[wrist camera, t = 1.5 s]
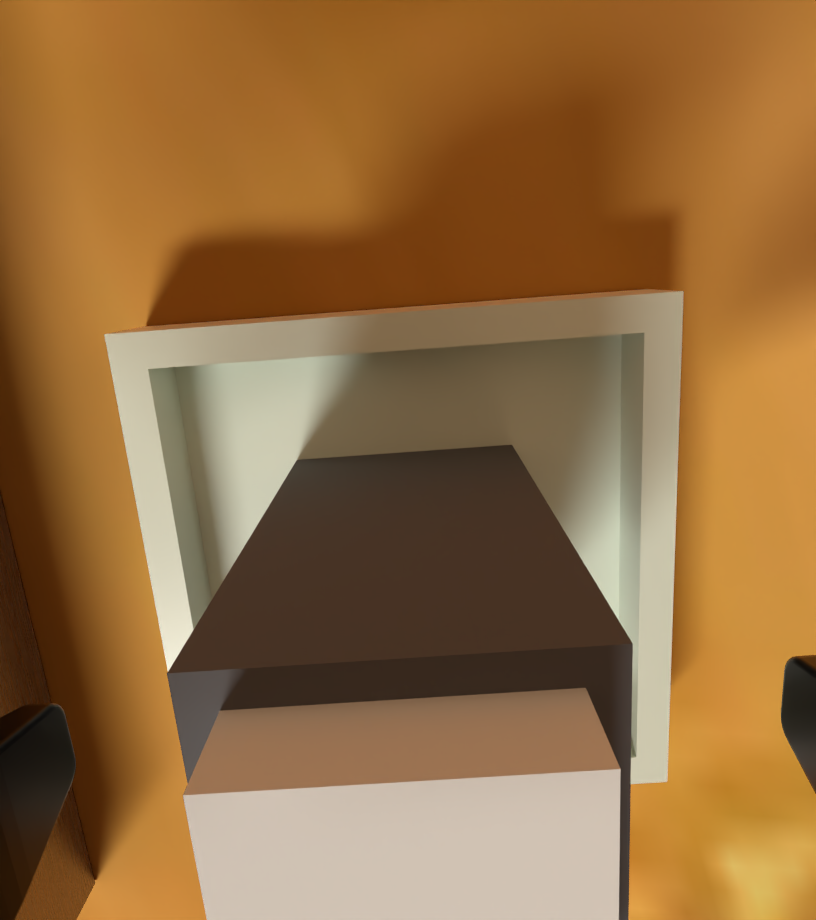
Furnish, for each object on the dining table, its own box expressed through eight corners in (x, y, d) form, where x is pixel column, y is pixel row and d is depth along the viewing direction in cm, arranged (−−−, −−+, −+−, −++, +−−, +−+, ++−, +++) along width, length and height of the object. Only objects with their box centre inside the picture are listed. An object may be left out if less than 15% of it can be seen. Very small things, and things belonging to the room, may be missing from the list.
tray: (647, 289, 12) (684, 291, 11) (638, 725, 15) (667, 781, 13) (144, 326, 12) (104, 334, 11) (217, 750, 15) (194, 810, 13)
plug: (512, 444, 12) (678, 718, 5) (518, 637, 14) (663, 1117, 6) (296, 460, 13) (118, 752, 5) (320, 650, 14) (203, 1140, 6)
